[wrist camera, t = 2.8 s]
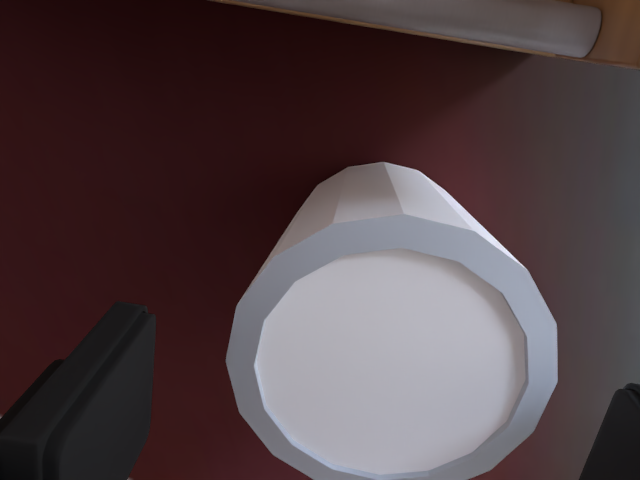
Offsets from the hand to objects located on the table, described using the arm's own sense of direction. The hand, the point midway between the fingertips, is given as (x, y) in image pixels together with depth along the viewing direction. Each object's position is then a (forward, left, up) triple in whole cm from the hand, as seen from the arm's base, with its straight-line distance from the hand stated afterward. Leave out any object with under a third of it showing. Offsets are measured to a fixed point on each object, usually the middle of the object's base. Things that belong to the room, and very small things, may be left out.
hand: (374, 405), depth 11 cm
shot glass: (0, -1, -8) cm, 8 cm away
